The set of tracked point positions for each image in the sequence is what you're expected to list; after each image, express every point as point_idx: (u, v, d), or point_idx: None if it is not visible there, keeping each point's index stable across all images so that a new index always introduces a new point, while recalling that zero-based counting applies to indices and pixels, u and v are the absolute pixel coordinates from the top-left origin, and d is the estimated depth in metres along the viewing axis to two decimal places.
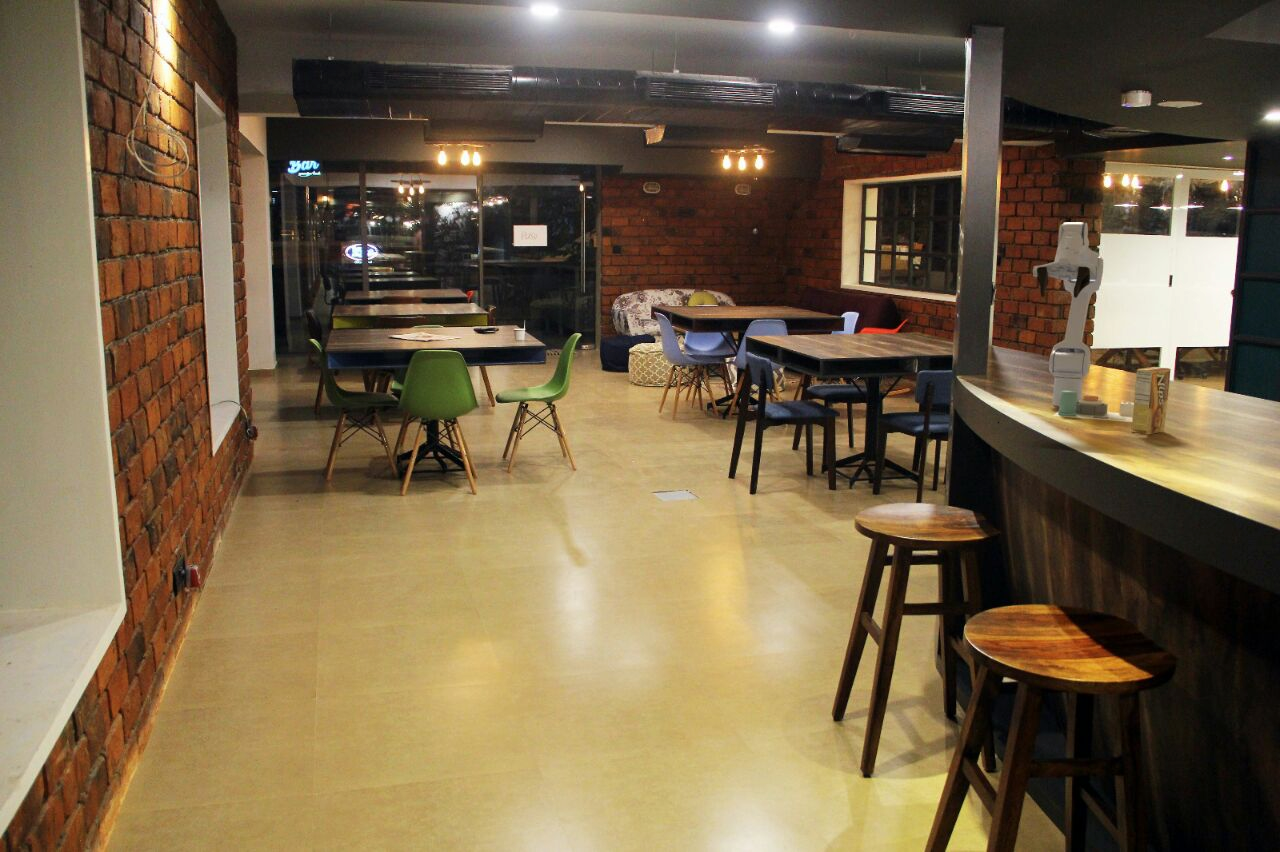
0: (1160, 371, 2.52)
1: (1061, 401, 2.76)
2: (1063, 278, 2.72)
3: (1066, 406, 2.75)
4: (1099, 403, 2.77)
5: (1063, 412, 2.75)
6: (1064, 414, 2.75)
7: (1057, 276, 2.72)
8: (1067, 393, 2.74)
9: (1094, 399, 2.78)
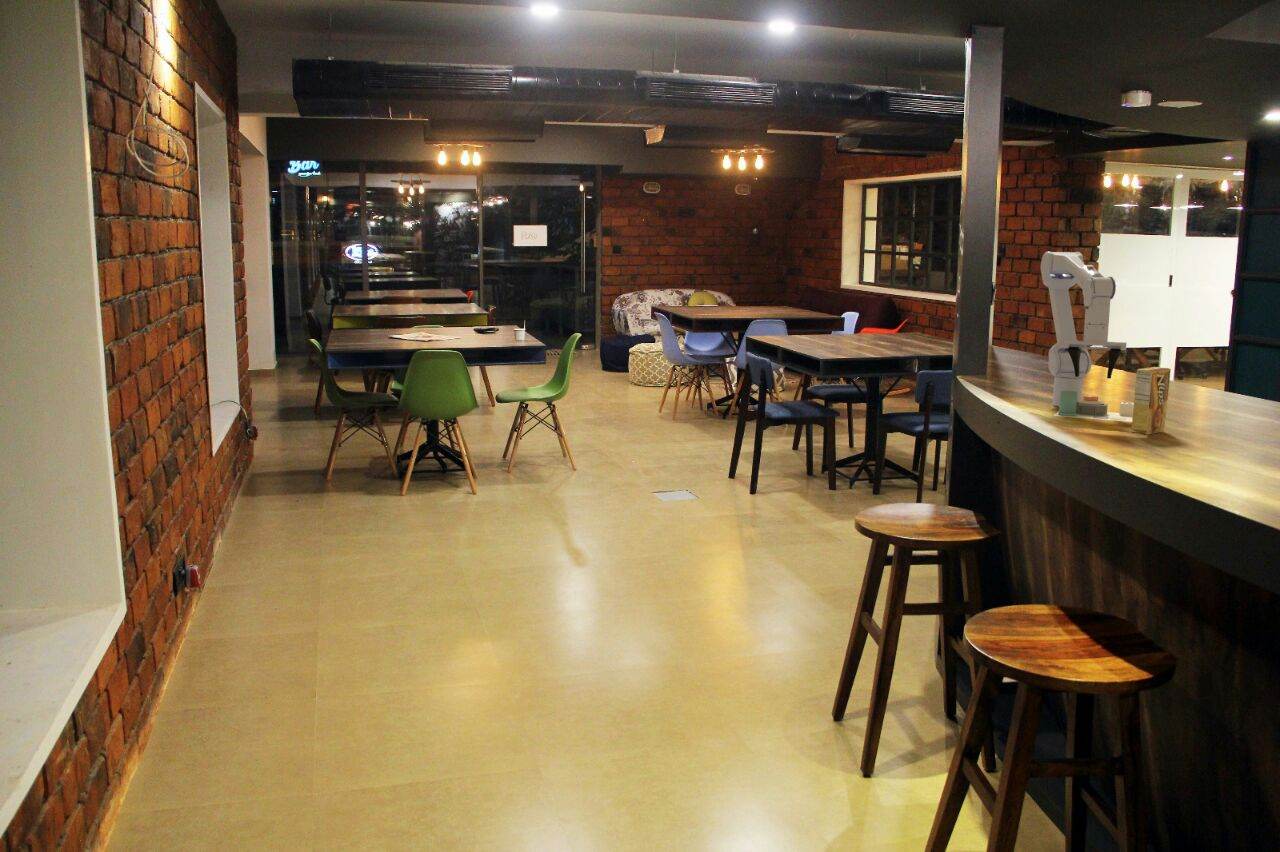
0: (1160, 371, 2.52)
1: (1061, 401, 2.76)
2: None
3: (1066, 406, 2.75)
4: (1099, 403, 2.77)
5: (1063, 412, 2.75)
6: (1064, 414, 2.75)
7: None
8: (1067, 393, 2.74)
9: (1094, 399, 2.78)
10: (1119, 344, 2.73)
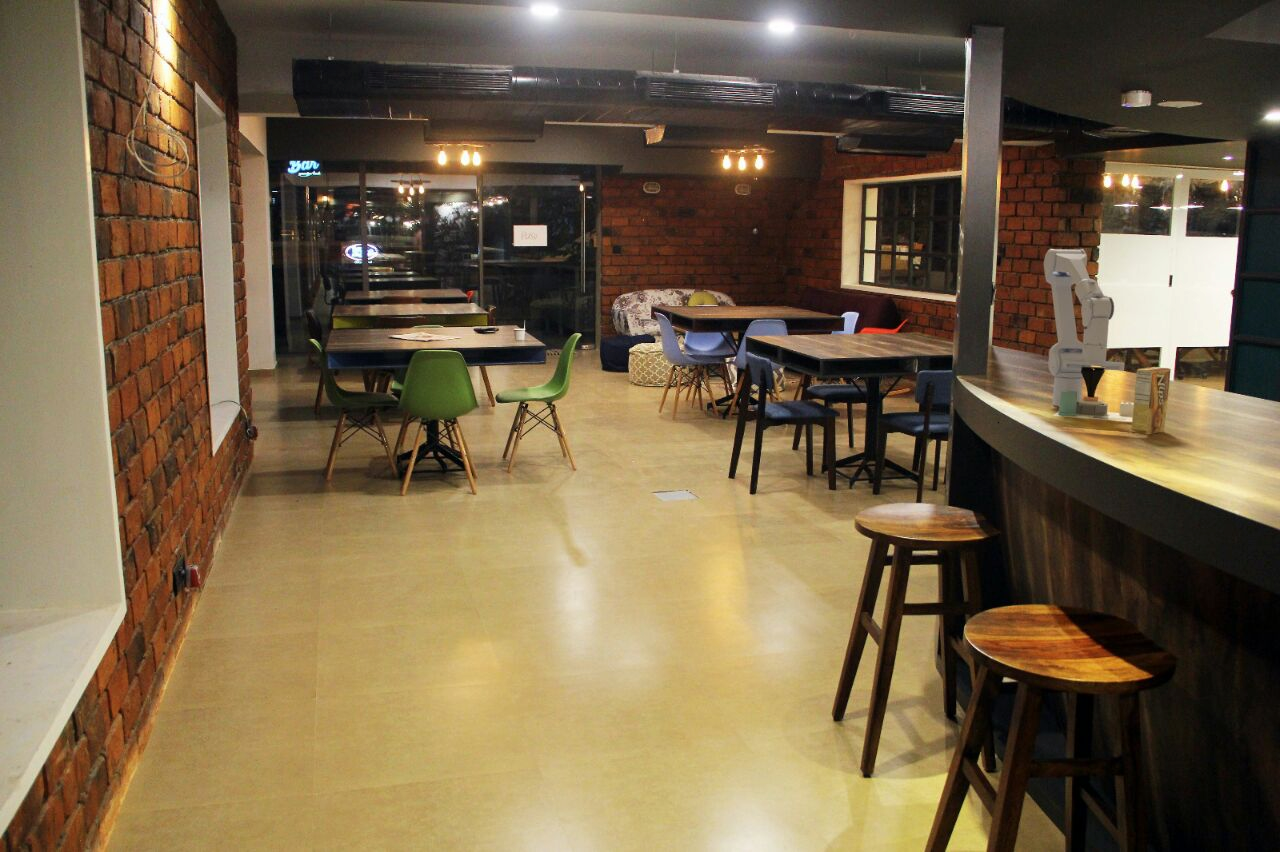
0: (1160, 371, 2.52)
1: (1061, 401, 2.76)
2: None
3: (1066, 406, 2.75)
4: (1099, 403, 2.77)
5: (1063, 412, 2.75)
6: (1064, 414, 2.75)
7: None
8: (1067, 393, 2.74)
9: (1094, 399, 2.78)
10: (1117, 364, 2.74)
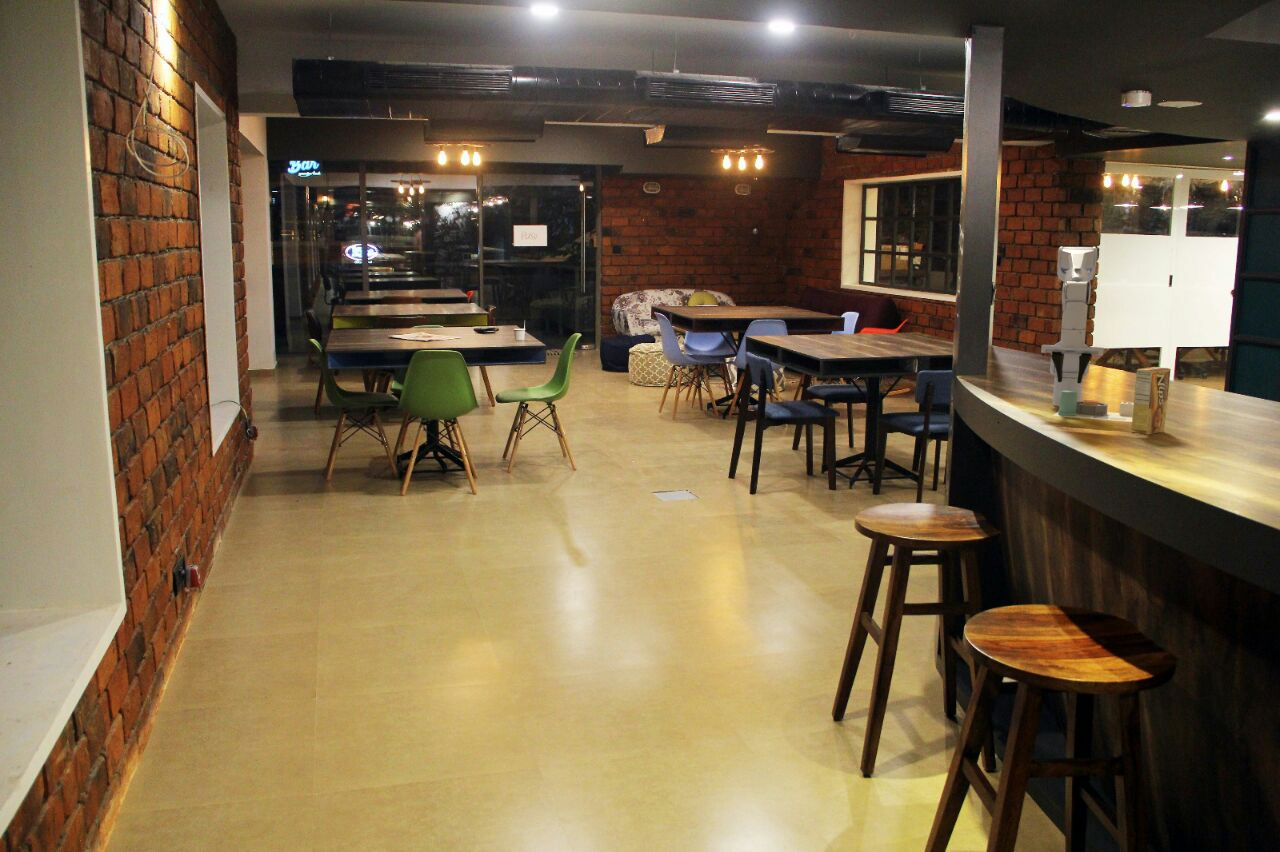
0: (1160, 371, 2.52)
1: (1061, 401, 2.76)
2: None
3: (1066, 406, 2.75)
4: None
5: (1063, 412, 2.75)
6: (1064, 414, 2.75)
7: None
8: (1067, 393, 2.74)
9: (1094, 404, 2.78)
10: (1096, 349, 2.70)
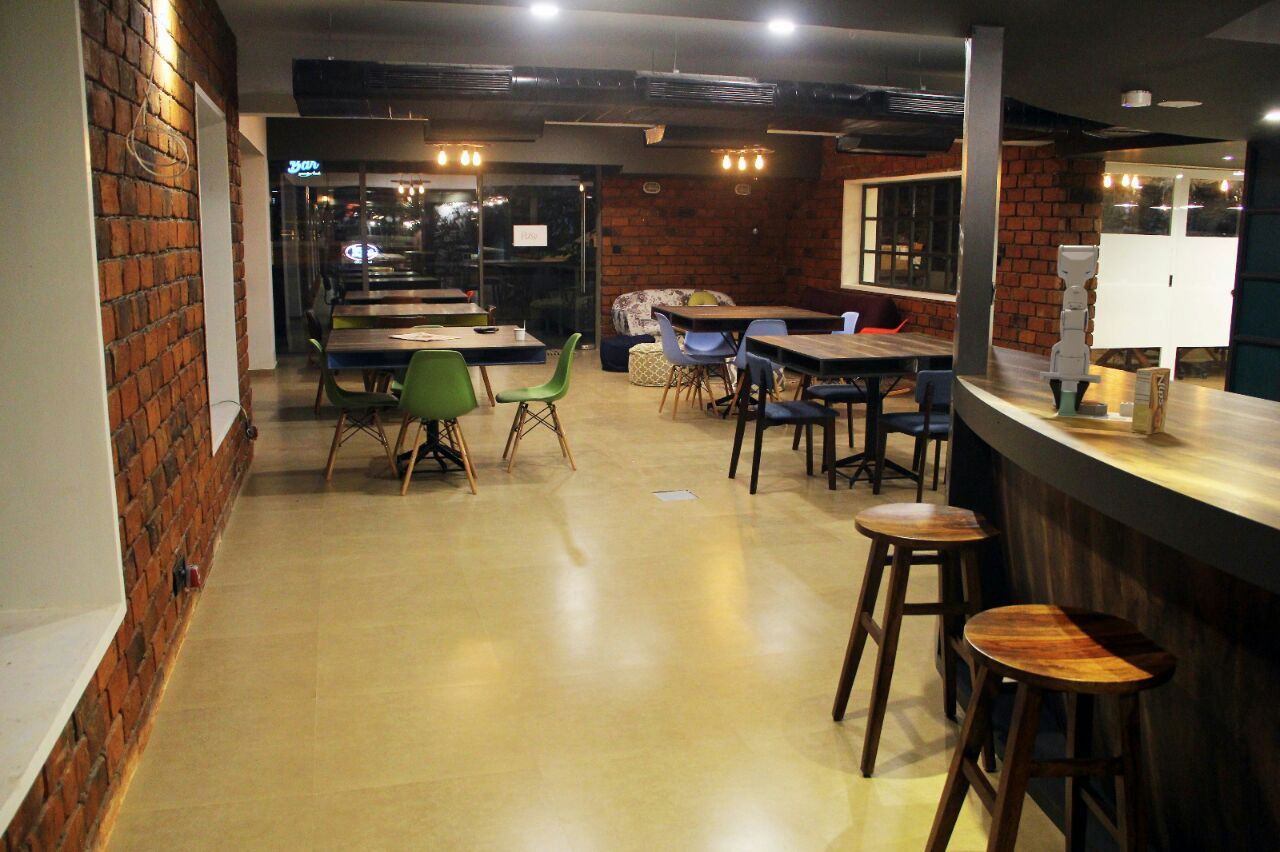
0: (1160, 371, 2.52)
1: (1061, 401, 2.76)
2: None
3: (1066, 406, 2.75)
4: None
5: (1063, 412, 2.75)
6: (1064, 414, 2.75)
7: None
8: (1067, 393, 2.74)
9: (1094, 404, 2.78)
10: (1094, 377, 2.71)
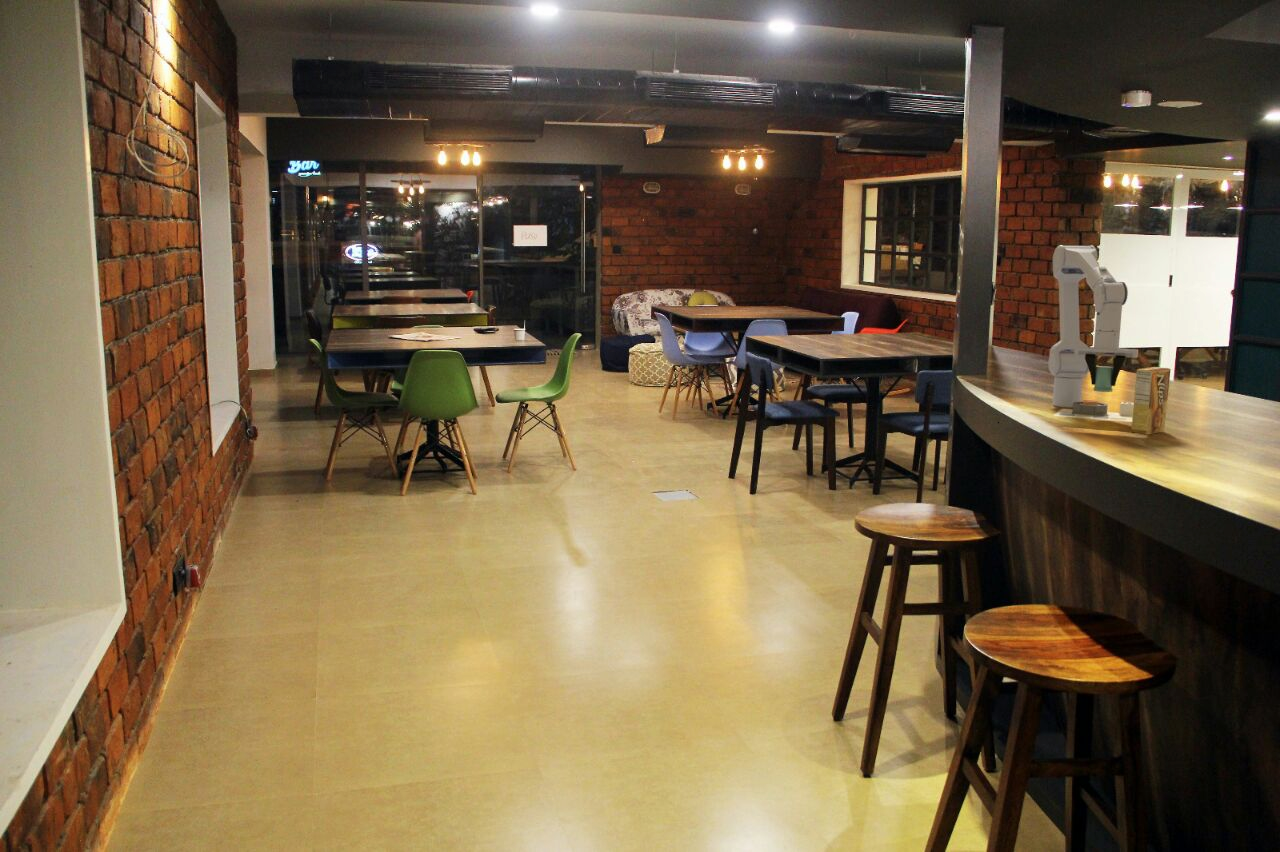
0: (1160, 371, 2.52)
1: (1097, 377, 2.70)
2: None
3: (1102, 382, 2.69)
4: None
5: (1099, 388, 2.70)
6: (1100, 390, 2.70)
7: None
8: (1103, 368, 2.69)
9: (1094, 404, 2.78)
10: (1131, 351, 2.66)
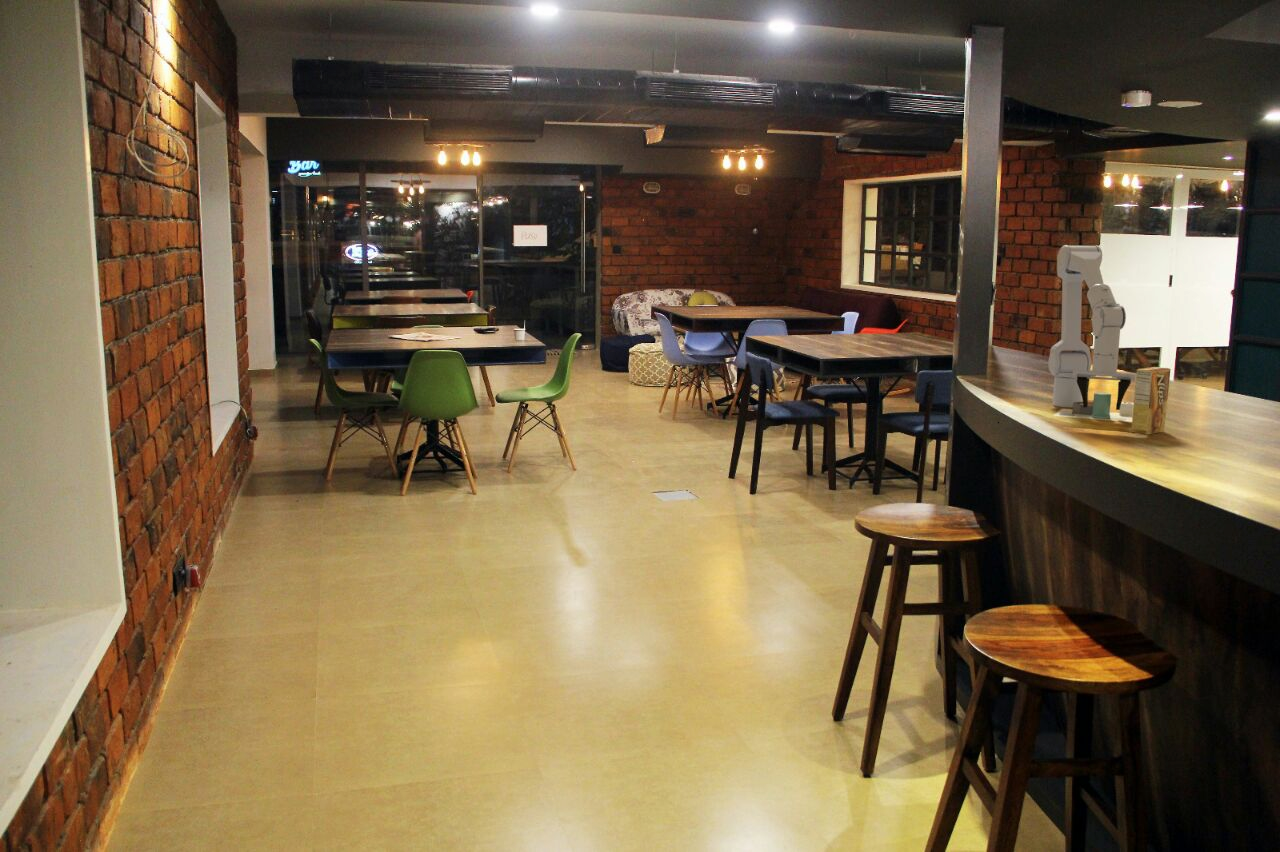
0: (1160, 371, 2.52)
1: (1095, 403, 2.72)
2: None
3: (1100, 409, 2.71)
4: None
5: (1097, 415, 2.71)
6: (1098, 417, 2.71)
7: None
8: (1101, 395, 2.70)
9: None
10: (1129, 375, 2.67)
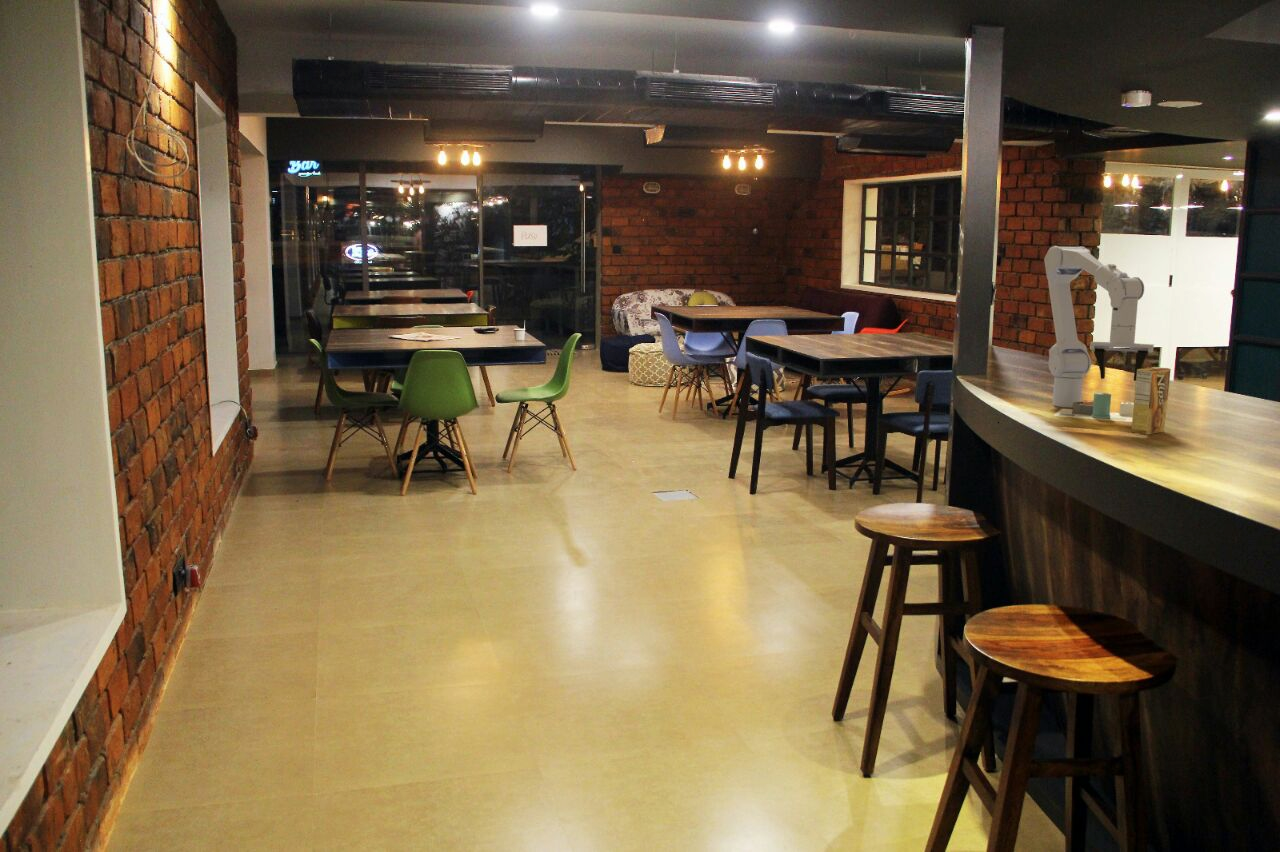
0: (1160, 371, 2.52)
1: (1095, 403, 2.72)
2: None
3: (1100, 409, 2.71)
4: None
5: (1097, 415, 2.71)
6: (1098, 417, 2.71)
7: None
8: (1101, 395, 2.70)
9: None
10: (1146, 346, 2.69)
